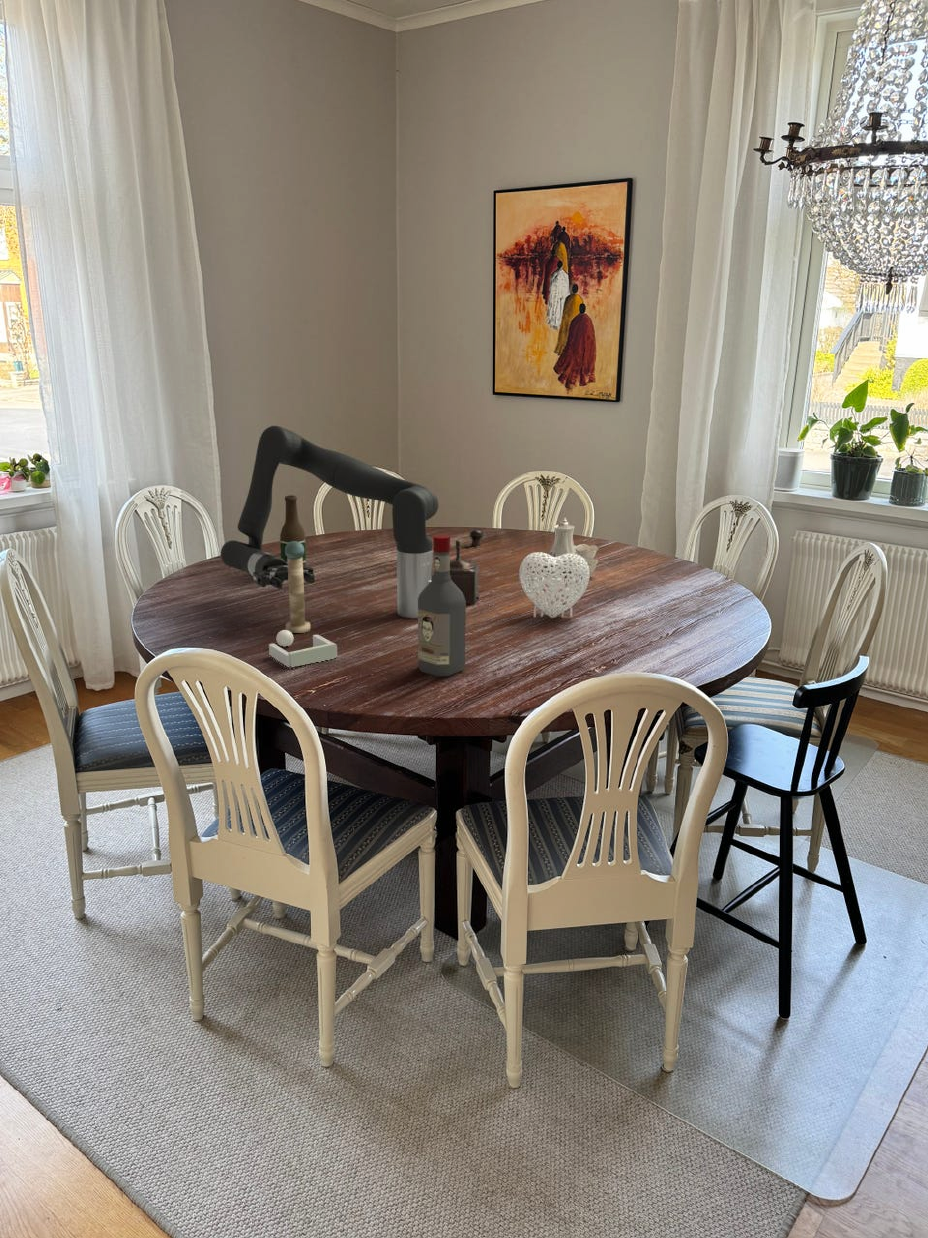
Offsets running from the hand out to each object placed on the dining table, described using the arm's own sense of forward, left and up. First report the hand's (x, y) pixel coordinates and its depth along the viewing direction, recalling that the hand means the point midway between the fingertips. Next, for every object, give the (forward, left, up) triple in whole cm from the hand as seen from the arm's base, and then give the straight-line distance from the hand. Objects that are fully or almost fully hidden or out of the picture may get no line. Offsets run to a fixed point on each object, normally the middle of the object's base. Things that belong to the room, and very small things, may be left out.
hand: (297, 582), depth 228 cm
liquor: (-37, +24, -13) cm, 46 cm away
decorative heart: (-63, -16, -13) cm, 66 cm away
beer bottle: (+13, -51, -13) cm, 55 cm away
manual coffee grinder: (-38, -33, -13) cm, 52 cm away
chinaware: (-71, -66, -13) cm, 98 cm away
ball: (+1, +12, -11) cm, 16 cm away
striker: (0, 0, -13) cm, 13 cm away
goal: (-5, +19, -13) cm, 23 cm away
